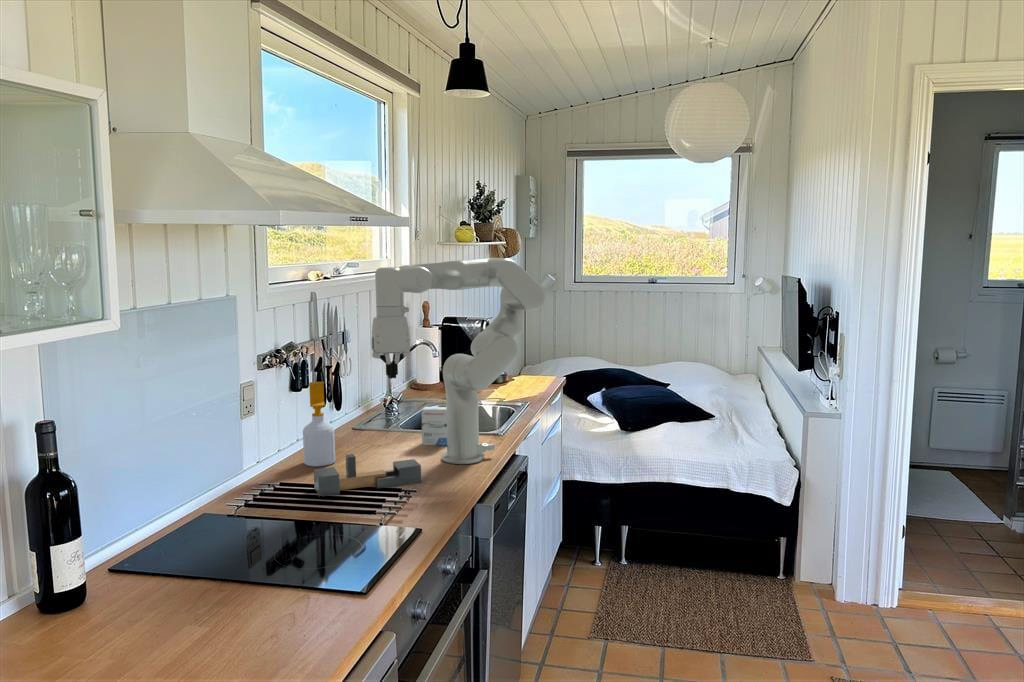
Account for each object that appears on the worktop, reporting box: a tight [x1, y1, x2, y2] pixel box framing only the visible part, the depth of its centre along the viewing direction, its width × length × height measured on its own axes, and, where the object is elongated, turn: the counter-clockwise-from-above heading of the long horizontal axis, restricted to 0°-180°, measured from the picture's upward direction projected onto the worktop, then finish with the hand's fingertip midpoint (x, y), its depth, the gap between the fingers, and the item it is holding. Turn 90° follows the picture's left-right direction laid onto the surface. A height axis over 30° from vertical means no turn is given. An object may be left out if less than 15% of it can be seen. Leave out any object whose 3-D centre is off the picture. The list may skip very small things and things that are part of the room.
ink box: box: [421, 406, 447, 446], centre depth 250 cm, size 8×5×12 cm, turn 84°
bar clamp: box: [313, 458, 422, 498], centre depth 208 cm, size 27×7×5 cm, turn 113°
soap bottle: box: [302, 381, 336, 468], centre depth 229 cm, size 9×9×25 cm
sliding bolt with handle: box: [339, 453, 386, 491], centre depth 207 cm, size 16×3×8 cm, turn 113°
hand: (392, 377), depth 217 cm, fingers closed
